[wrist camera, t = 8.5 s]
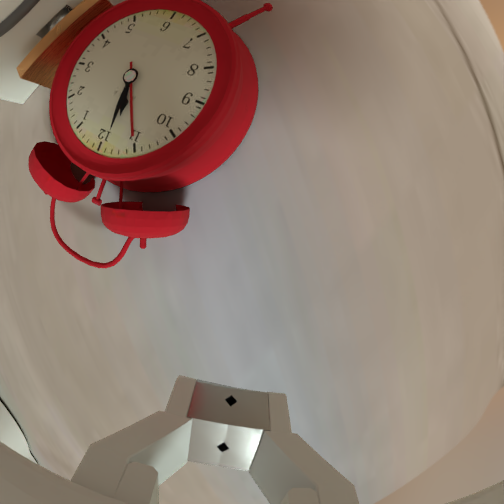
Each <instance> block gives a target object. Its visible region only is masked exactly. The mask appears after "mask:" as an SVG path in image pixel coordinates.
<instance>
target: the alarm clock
mask: <svg viewBox="0 0 504 504" xmlns="http://www.w3.org/2000/svg"><path fill="white" fill-rule="evenodd" d="M272 9H273V7H272V5H271V4H270V3H266V4H264V7H262V8H260V9H258V10H256V11H254V12H251V13H249V14H246V15H244V16H242V17H240V18H238V19H236V20H234V21H232V22H230V23H227V21H226V20H225V19H224V18H223V17H222V16H221V15H220V14H219V13H218V12H217V11H216V10H214V9H213V8H212V7H210V6H209V5H207V4H206V3H204V2H202V1H201V0H126V1H123V2H121V3H119V4H117V5H115V6H113V7H111V8H110V9H108V10H106V11H105V12H103V13H102V14H100V15H99V16H98V17H96V18H95V19H94V20H93V21H91V22H90V23H89V24H88V25H87V26H86V27H85V28H84V29H83V30H82V31H81V32H80V33H79V34H78V36H77V37H76V38H75V39H74V40H73V42H72V43H71V45H70V46H69V47H68V49H67V50H66V52H65V54H64V56H63V57H62V59H61V61H60V63H59V66H58V68H57V70H56V73H55V76H54V79H53V83H52V87H51V92H50V101H49V113H50V121H51V126H52V130H53V134H54V136H55V138H56V141H57V143H58V145H57V144H55V143H50V142H45V141H44V142H39V143H37V144H36V145H35V147H34V148H33V150H32V151H31V154H30V156H29V171H30V173H31V175H32V177H33V179H34V181H35V182H36V183H37V184H38V186H39V187H40V188H41V189H42V190H43V191H44V193H45V194H48V195H50V196H51V197H52V200H51V206H50V223H51V228H52V231H53V234H54V236H55V238H56V240H57V241H58V243H59V244H60V245H61V246H62V247H63V248H64V249H65V250H66V251H67V252H68V253H69V254H71V255H72V256H74V257H75V258H76V259H78V260H80V261H82V262H84V263H86V264H88V265H90V266H94V267H97V268H108V267H111V266H114V265H115V264H117V263H118V262H119V261H120V260H121V259H122V258H123V256H124V255H125V253H126V251H127V249H128V247H129V245H130V243H131V242H132V240H133V239H134V238H140V248H142V249H145V248H146V238H159V237H167V236H170V235H174V234H176V233H178V232H180V231H181V230H183V229H184V227H185V226H186V224H187V223H188V219H189V211H190V209H189V207H186V206H182V205H176V211H171V212H166V211H143V207H142V203H143V202H122V199H123V188H125V189H127V190H130V191H138V192H162V191H169V190H174V189H178V188H181V187H184V186H187V185H190V184H192V183H194V182H196V181H198V180H200V179H202V178H204V177H205V176H207V175H208V174H210V173H211V172H213V171H214V170H215V169H217V168H218V167H219V166H220V165H221V164H223V163H224V162H225V161H226V160H227V159H228V158H229V157H230V156H231V154H232V153H233V152H234V151H235V150H236V148H237V147H238V146H239V144H240V143H241V142H242V140H243V138H244V137H245V135H246V133H247V131H248V129H249V127H250V125H251V123H252V120H253V117H254V114H255V110H256V106H257V100H258V77H257V72H256V67H255V64H254V60H253V58H252V56H251V54H250V52H249V50H248V48H247V47H246V45H245V44H244V42H243V41H242V40H241V38H240V37H239V36H238V35H237V34H236V33H235V32H233V30H232V28H234V27H236V26H238V25H240V24H241V23H243V22H245V21H247V20H249V19H250V18H252V17H254V16H256V15H257V14H259V13H262V12H264V11H271V10H272ZM71 162H72V163H74V164H75V165H77V166H78V167H79V168H81V169H82V170H84V171H85V172H87V173H86V174H85V175H84V177H83V178H82V179H81V181H80V182H79V181H78V180H77V179H75V177H74V175H73V174H72V170H71V167H70V165H71ZM89 174H91V175H93V176H96V177H99V178H102V179H103V180H102V183H101V185H100V188H99V191H98V194H97V197H93V198H92V202H93V203H95V204H97V205H98V206H100V205H101V203H102V200H100V197H101V194H102V191H103V188H104V186H105V183H106V180H108V181H109V182H111V183H113V184H114V185H117V186H119V187H120V196H119V202H111V203H105V204H102V205H101V217H102V222H103V223H104V225H105V226H106V227H107V228H108V229H109V230H111V231H112V232H114V233H117V234H121V235H124V236H128V239H127V241H126V242H125V244H124V246H123V248H122V250H121V252H120V253H119V254H118V256H117V257H116V258H115V259H114V260H113V261H110V262H108V263H99V262H93V261H91V260H89V259H87V258H84V257H82V256H80V255H79V254H77V253H76V252H74V251H73V250H72V249H70V248H69V247H68V246H67V245H66V244H65V243H64V242H63V240H62V239H61V238H60V236H59V234H58V232H57V229H56V226H55V220H54V209H55V201H56V199H57V200H60V201H65V202H77V201H80V200H82V199H84V198H86V197H87V196H88V195H89V194H90V193H91V191H92V190H93V189H94V188H95V180H94V178H93V177H92V179H91V180H90V182H88V183H86V184H83V182H84V180H85V179H86V178H87V176H88V175H89Z"/></svg>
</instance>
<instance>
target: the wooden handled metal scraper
mask: <svg viewBox="0 0 504 504" xmlns="http://www.w3.org/2000/svg"><path fill="white" fill-rule="evenodd" d="M113 6H114V5H113V4H112V3H111V2H110V1H109V0H83V1H82V2H81V3H79V4H78V5H77V6H76V7H75V8H74V9H73V10H71V11H70V12H69V11H68V9H67V8H66V6H65V7H64V8H62V9H61V10H60V11H59V12H58V13H57V14H56V15H55V16H54V17H53V18H52V19H51V20H50V21H49V22H48V23H47V24H46V27H47V29H48V31H49V32H48V33H47V34H46V35H45V36H44V37H43V38H42V39H41V41H40V42H39V43H38V44H37V45H36V46H35V47H34V48H33V49H32V50H31V51H30V53H29V54H28V55H27V56H26V57H25V58H24V60H23V61H22V62H21V63H20V64H19V65H18V67H17V68H16V69H17V71H18V74H19V76H20V78H21V79H24V80H27V81H30V82H33V83H36V84H39V85H42V86H44V87H47V88H50V89H51V87H52V83H53V79H54V76H55V73H56V70H57V68H58V66H59V63H60V61H61V59H62V57H63V56H64V54H65V52H66V50H67V49H68V47H69V46H70V45H71V43H72V42H73V40H74V39H75V38H76V37H77V36H78V34H79V33H80V32H81V31H82V30H83V29H84V28H85V27H86V26H87V25H88V24H89V23H90V22H91V21H93V20H94V19H95V18H96V17H98V16H99V15H100V14H102V13H103V12H105V11H106V10H108V9H110V8H111V7H113Z"/></svg>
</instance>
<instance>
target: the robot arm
mask: <svg viewBox="0 0 504 504" xmlns="http://www.w3.org/2000/svg"><path fill="white" fill-rule="evenodd" d="M187 461H190V462H196V463H202V464H208V465H214V466H220V467H226V468H232V469H238V470H245V471H249V473H250V475H251V476H252V478H253V479H254V481H255V482H256V484H257V485H258V487H259V488H260V490H261V491H262V493H263V494H264V495H265V497H266V498H267V500H268V501H269V503H270V504H359V501H358V498H357V494H356V491H355V487H354V485H353V484H352V483H351V482H349V481H348V480H347V479H346V478H345V477H344V476H342V475H341V474H340V473H339V472H338V471H337V470H336V469H335V468H333V467H332V466H331V465H330V464H329V463H328V462H327V461H326V460H324V459H323V458H322V457H321V456H320V455H319V454H318V453H317V452H316V451H315V450H314V449H313V448H311V447H310V446H309V445H308V444H307V443H306V442H305V441H304V440H303V439H302V438H301V437H300V436H299V435H298V434H295V433H292V432H291V425H290V418H289V411H288V404H287V397H286V395H285V394H283V393H273V392H261V391H254V390H247V389H241V388H235V387H230V386H225V385H221V384H216V383H211V382H207V381H202V380H198V379H197V380H196V379H193V378H189V377H185V376H181V375H179V376H178V378H177V380H176V382H175V385H174V388H173V391H172V393H171V396H170V399H169V401H168V404H167V407H166V410H165V412H162V411H158V412H156V413H154V414H152V415H150V416H148V417H146V418H144V419H142V420H140V421H139V422H137V423H135V424H133V425H131V426H129V427H126V428H124V429H122V430H120V431H118V432H116V433H114V434H112V435H110V436H108V437H106V438H103V439H101V440H99V441H97V442H95V443H92V444H91V445H90V446H89V448H88V450H87V452H86V454H85V455H84V457H83V459H82V461H81V463H80V464H79V466H78V468H77V470H76V472H75V474H74V476H73V477H72V479H71V481H70V480H68V479H65V478H63V477H61V476H59V475H57V474H55V473H53V472H51V471H49V470H47V469H46V468H44V467H42V466H40V465H38V464H37V462H36V461H35V459H34V458H33V456H32V455H31V453H30V451H29V447H28V444H27V441H26V439H25V437H24V435H23V433H22V432H21V430H20V428H19V427H18V425H17V424H16V422H15V421H14V419H13V418H12V416H11V415H10V413H9V412H8V411H7V409H6V408H5V407H4V405H3V404H2V403H1V401H0V504H159V488H158V486H159V485H160V484H161V483H163V482H164V481H165V480H166V479H168V478H169V477H170V476H171V475H173V474H174V473H175V472H176V471H177V470H179V469H180V468H181V467H182V466H183V465H185V464H186V463H187ZM446 504H504V480H503V481H501V482H499V483H497V484H495V485H492V486H490V487H488V488H486V489H483V490H481V491H479V492H476V493H474V494H471V495H469V496H466V497H463V498H461V499H458V500H455V501H452V502H449V503H446Z"/></svg>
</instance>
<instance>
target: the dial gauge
mask: <svg viewBox="0 0 504 504" xmlns="http://www.w3.org/2000/svg"><path fill="white" fill-rule="evenodd" d="M82 1H83V0H0V99H2V100H7V101H11V102H16V103H20V104H24V102H25V101H26V100H27V99H28V97H29V96H30V95H31V94H32V93H33V91H34V90H35V89H36V88H37V87H38V86H39V84H36V83H33V82H30V81H27V80H24V79H21V78H20V76H19V74H18V71H17V69H16V68H17V67H18V65H19V64H20V63H21V62H22V61H23V60H24V58H25V57H26V56H27V55H28V54H29V53H30V51H31V50H32V49H33V48H34V47H35V46H36V45H37V44H38V43H39V42H40V41H41V39H42V38H43V37H44V36H45V35H46V34H47V33H48V32H49V31H48V29H47V27H46V24H47V23H48V22H49V21H50V20H51V19H52V18H53V17H54V16H55V15H56V14H57V13H58V12H59V11H60V10H61V9H62V8H64V7H65V6H66V5H68V6H70V7H71V8H72V9H74V8H75V7H76V6H77V5H78V4H79V3H81V2H82ZM109 1H110V2H111V3H112V4H113V5H114V6H115V5H117V4H119V3H121V2H123V1H126V0H109Z"/></svg>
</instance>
